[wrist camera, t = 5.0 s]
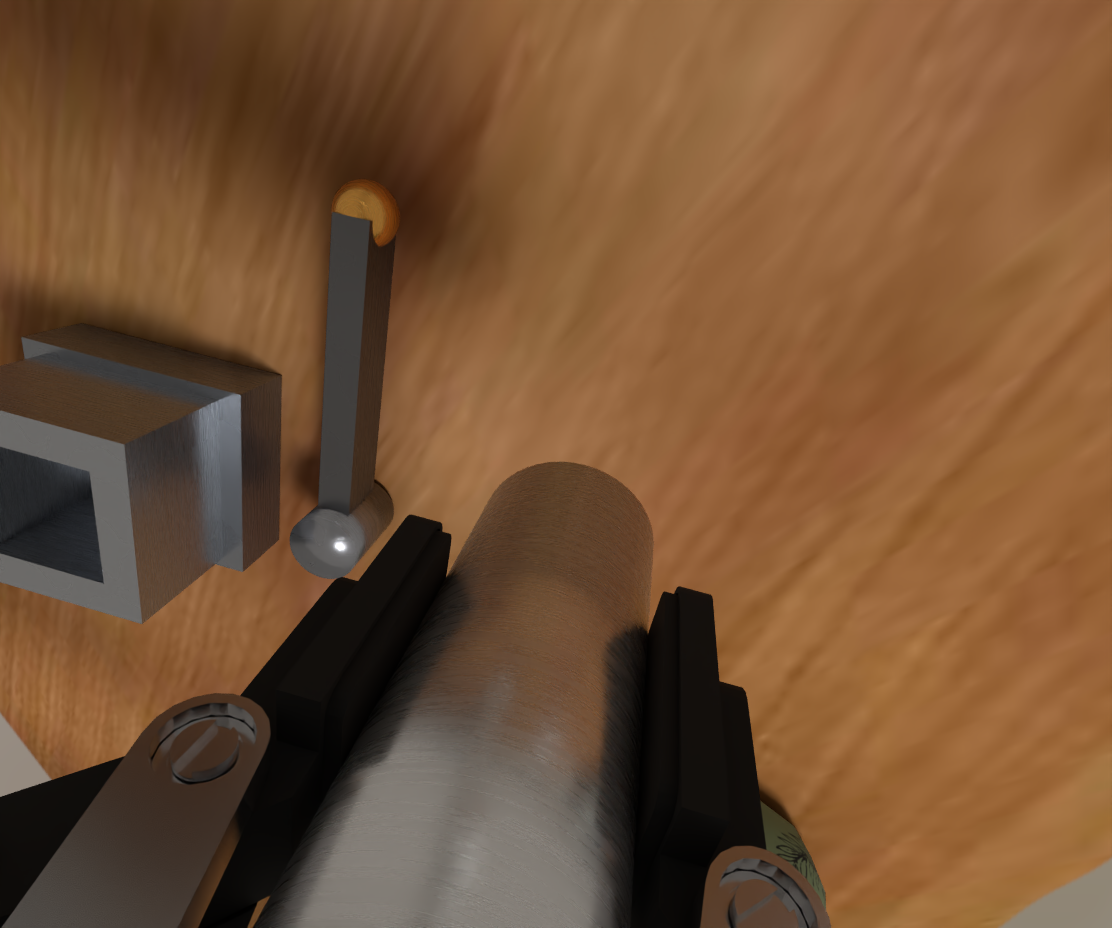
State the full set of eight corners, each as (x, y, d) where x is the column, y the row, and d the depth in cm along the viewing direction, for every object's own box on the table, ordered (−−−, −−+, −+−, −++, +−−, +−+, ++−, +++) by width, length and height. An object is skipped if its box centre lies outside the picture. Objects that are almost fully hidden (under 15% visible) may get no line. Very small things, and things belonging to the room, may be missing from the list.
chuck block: (81, 323, 30) (-112, 367, 22) (281, 375, 29) (149, 438, 22) (101, 490, 33) (-57, 574, 26) (278, 539, 33) (165, 640, 25)
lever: (354, 171, 25) (299, 169, 21) (428, 188, 24) (385, 189, 21) (333, 524, 31) (288, 568, 28) (390, 540, 31) (353, 586, 28)
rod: (495, 442, 12) (-166, 1474, 3) (675, 488, 12) (667, 1802, 2) (471, 585, 14) (5, 1548, 4) (629, 628, 14) (514, 1749, 4)
